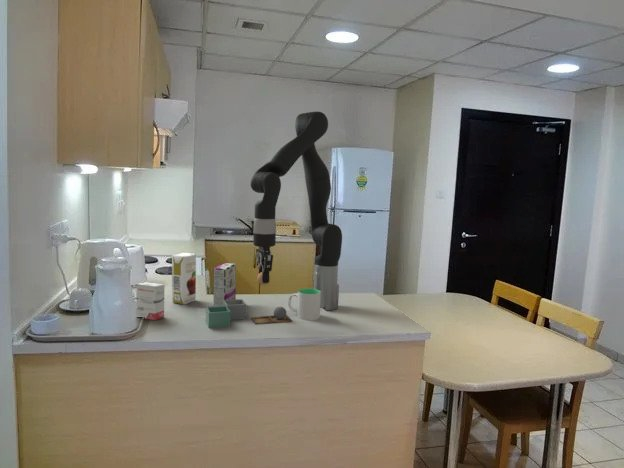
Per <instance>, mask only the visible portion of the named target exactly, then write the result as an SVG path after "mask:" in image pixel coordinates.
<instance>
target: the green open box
mask: <svg viewBox="0 0 624 468" xmlns="http://www.w3.org/2000/svg"><path fill="white" fill-rule="evenodd" d="M205 323H206V325H207V328H208V329H212V328H214V329H215V328H226V327H231V319H230V310H229V309H228V307H227V306H216V307H214V306H206V307H205Z"/></svg>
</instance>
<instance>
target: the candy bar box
mask: <svg viewBox="0 0 624 468" xmlns="http://www.w3.org/2000/svg"><path fill="white" fill-rule="evenodd" d="M236 269H237V266H236V263H229V262H224V263H223V264H220V265H217V266H216V267H213V307H216V306H223V300H236V298H237V297H236V296H237V295H236V294H237V293H236V292H237V290H236V288H237V287H236V279H237V277H236V274H237V272H236V271H237V270H236Z"/></svg>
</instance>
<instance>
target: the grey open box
mask: <svg viewBox="0 0 624 468" xmlns="http://www.w3.org/2000/svg"><path fill="white" fill-rule="evenodd" d="M223 306H227V307H228V309H229V310H230V320H239V319H241V320H243V319H247V303H246V302H245V300H244V299H243V298H240V299H238V298H237V299H236V300H223Z"/></svg>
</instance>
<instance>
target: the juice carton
mask: <svg viewBox="0 0 624 468" xmlns="http://www.w3.org/2000/svg"><path fill="white" fill-rule="evenodd" d="M196 280H197V258H196V253H192V252H191V253H190V252H181V253H179V254H178V253H177V254H172V255H171V302H172V303H174V304H179V305H187V304H190V303H192V302H193V303H194V302H195V301H196V298H197V297H196V294H197V290H196V289H197V286H196V284H197V283H196V282H197V281H196Z"/></svg>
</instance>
